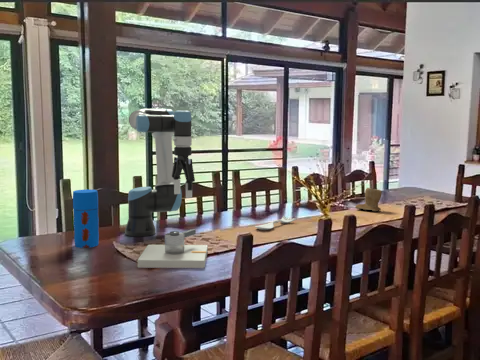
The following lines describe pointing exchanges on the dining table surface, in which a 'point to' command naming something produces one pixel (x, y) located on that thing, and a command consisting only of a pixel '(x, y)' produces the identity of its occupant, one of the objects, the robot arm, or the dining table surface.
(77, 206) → the thermos
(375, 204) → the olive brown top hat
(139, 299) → the dining table surface
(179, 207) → the robot arm
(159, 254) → the stand
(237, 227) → the dining table surface
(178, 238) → the capstan
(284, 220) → the spoon
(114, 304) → the dining table surface
